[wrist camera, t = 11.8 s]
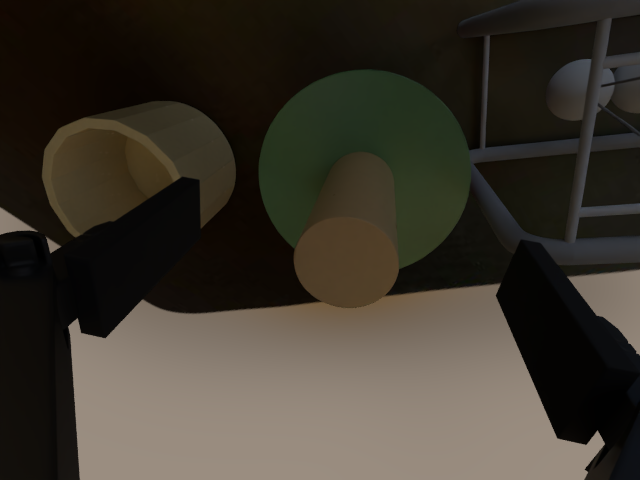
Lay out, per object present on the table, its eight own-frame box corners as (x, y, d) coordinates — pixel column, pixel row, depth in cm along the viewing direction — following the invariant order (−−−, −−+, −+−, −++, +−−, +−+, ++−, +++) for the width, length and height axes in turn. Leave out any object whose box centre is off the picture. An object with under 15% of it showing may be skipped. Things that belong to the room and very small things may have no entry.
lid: (378, 13, 20) (371, -18, 10) (509, 192, 23) (597, 295, 13) (224, 165, 25) (126, 239, 15) (349, 295, 28) (330, 422, 18)
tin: (166, 71, 32) (90, 80, 24) (260, 171, 35) (221, 210, 27) (100, 156, 37) (17, 188, 29) (188, 239, 40) (135, 290, 32)
